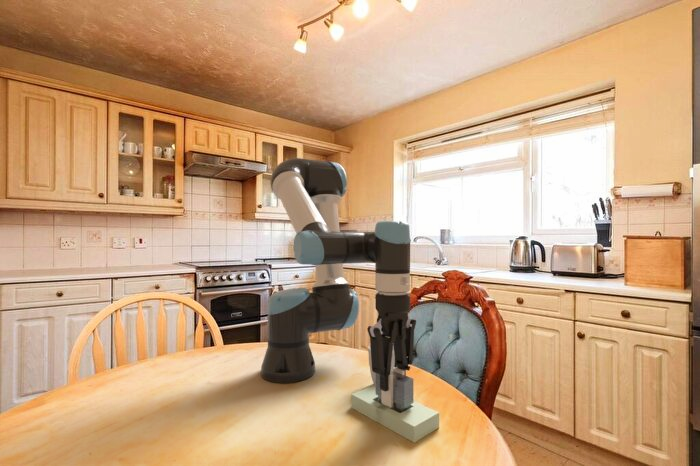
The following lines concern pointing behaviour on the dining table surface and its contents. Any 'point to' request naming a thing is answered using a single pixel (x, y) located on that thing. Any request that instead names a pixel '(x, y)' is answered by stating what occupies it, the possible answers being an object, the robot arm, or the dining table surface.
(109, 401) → the dining table surface
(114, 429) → the dining table surface
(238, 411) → the dining table surface
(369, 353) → the cup
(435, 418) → the block with rectangular hole
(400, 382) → the grey foam block
